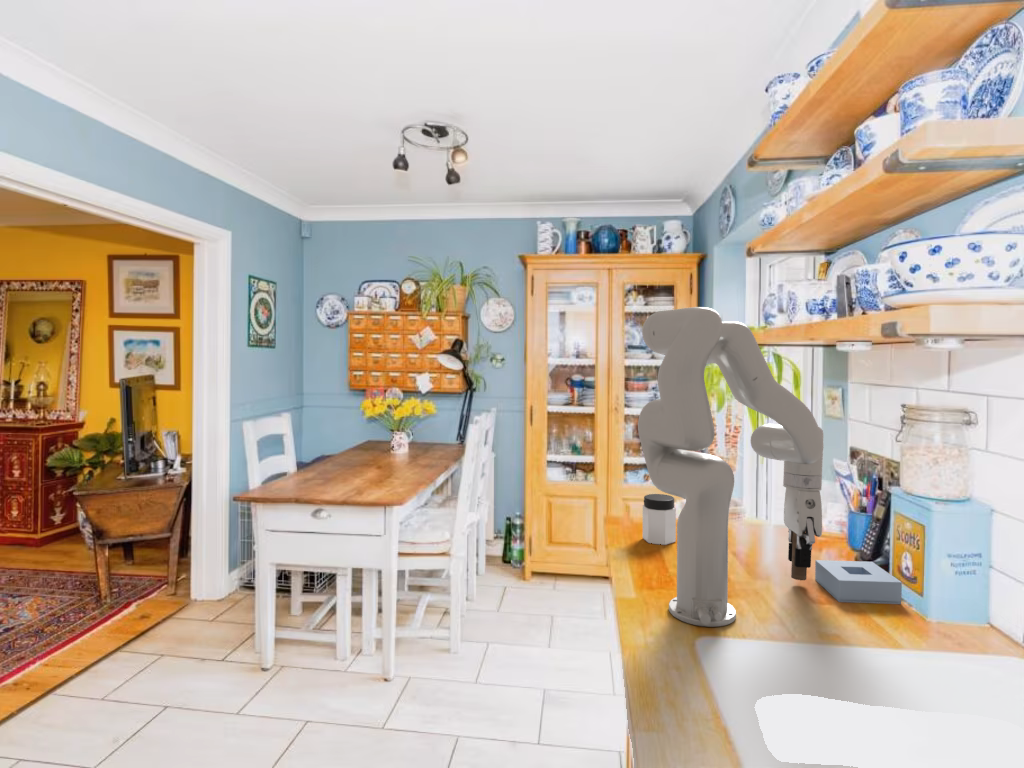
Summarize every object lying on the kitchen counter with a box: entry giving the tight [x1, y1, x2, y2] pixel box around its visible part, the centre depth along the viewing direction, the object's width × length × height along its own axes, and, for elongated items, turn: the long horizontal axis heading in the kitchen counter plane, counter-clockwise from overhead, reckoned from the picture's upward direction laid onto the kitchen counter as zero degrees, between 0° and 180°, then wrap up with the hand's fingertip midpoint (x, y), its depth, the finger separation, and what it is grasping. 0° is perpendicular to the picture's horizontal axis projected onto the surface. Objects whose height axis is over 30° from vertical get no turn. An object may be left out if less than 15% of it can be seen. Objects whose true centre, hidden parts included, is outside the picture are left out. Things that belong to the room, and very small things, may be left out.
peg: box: [790, 532, 808, 581], centre depth 128 cm, size 3×3×10 cm
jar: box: [642, 493, 677, 546], centre depth 160 cm, size 9×8×12 cm
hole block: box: [814, 559, 903, 605], centre depth 125 cm, size 12×12×4 cm
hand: (799, 563), depth 128 cm, fingers closed on peg, 3 cm apart
